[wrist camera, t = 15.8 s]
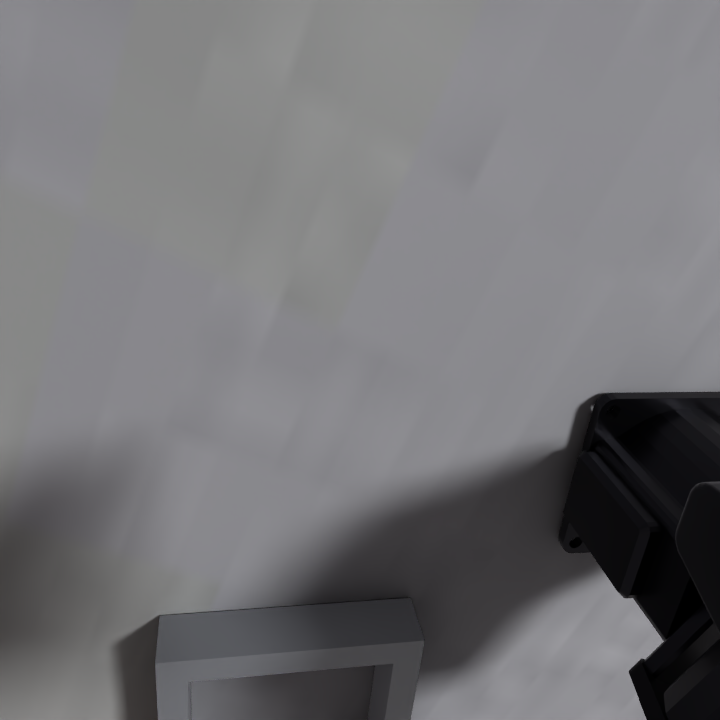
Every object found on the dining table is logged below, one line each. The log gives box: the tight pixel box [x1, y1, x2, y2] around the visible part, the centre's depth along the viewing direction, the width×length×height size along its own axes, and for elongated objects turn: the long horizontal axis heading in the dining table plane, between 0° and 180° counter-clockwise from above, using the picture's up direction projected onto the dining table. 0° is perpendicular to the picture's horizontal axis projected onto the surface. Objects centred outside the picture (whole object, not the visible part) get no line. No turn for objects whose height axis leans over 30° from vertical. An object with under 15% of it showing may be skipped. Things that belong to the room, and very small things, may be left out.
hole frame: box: [155, 598, 425, 720], centre depth 26 cm, size 9×9×2 cm
